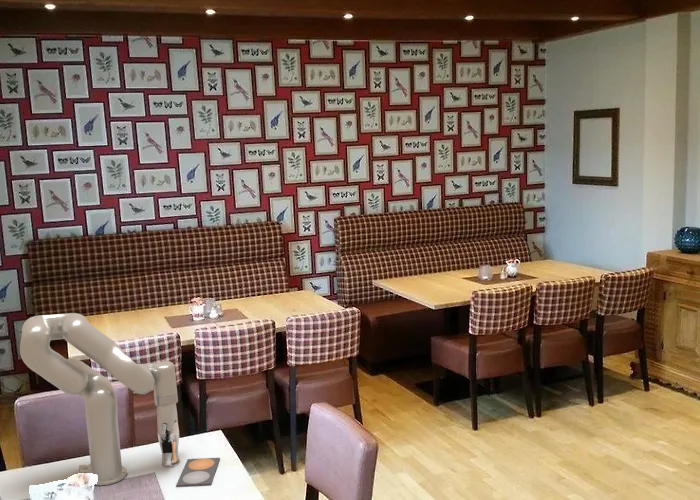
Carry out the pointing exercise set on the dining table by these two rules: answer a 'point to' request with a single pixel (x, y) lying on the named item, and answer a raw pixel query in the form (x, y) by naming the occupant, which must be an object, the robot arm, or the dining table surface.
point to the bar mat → (198, 472)
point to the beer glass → (173, 457)
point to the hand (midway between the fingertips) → (170, 446)
